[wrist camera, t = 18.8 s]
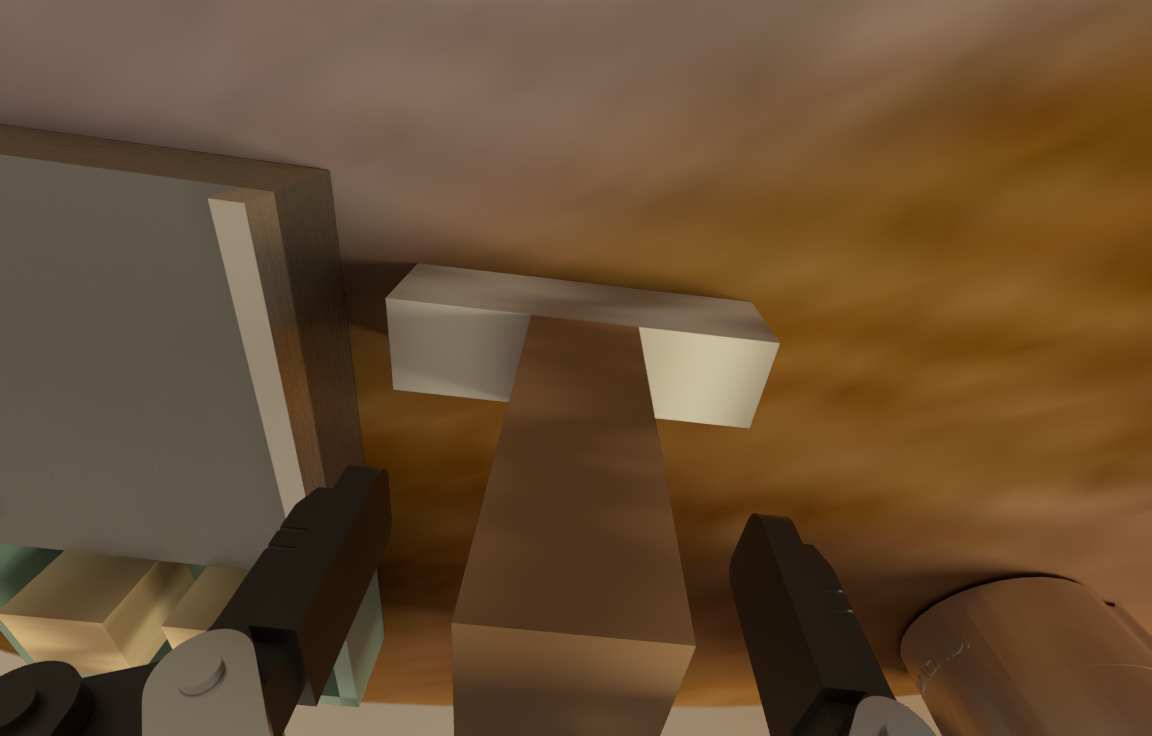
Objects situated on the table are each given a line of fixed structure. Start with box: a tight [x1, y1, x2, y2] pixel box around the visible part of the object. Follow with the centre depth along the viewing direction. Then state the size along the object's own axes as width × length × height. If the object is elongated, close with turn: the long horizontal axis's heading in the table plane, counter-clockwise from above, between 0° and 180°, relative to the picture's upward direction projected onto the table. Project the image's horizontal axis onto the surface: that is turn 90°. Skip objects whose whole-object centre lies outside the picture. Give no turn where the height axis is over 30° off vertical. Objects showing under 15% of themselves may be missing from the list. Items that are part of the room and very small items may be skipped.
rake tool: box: [386, 263, 780, 736], centre depth 12 cm, size 11×3×12 cm, turn 84°
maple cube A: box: [161, 566, 250, 649], centre depth 22 cm, size 4×4×4 cm
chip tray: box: [0, 543, 385, 707], centre depth 23 cm, size 15×9×4 cm, turn 83°
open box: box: [0, 125, 365, 570], centre depth 17 cm, size 15×15×4 cm
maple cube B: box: [0, 550, 195, 675], centre depth 22 cm, size 4×4×4 cm
